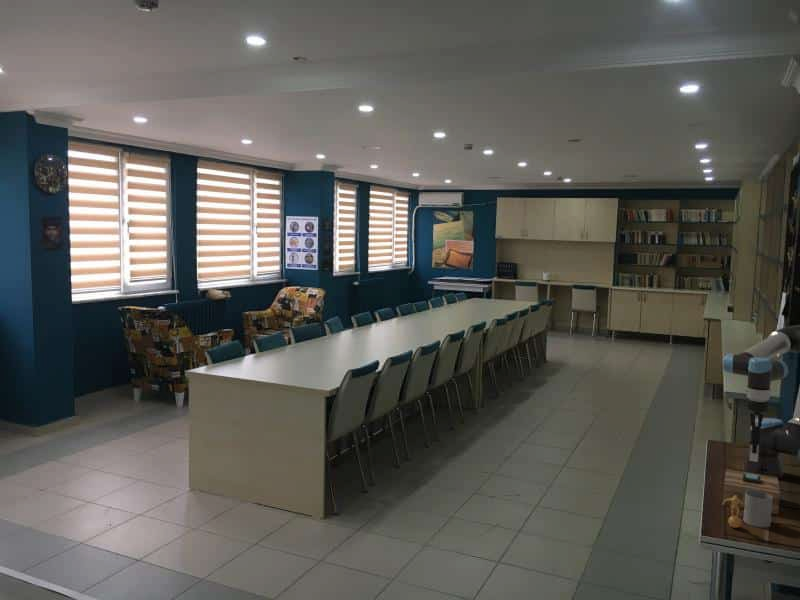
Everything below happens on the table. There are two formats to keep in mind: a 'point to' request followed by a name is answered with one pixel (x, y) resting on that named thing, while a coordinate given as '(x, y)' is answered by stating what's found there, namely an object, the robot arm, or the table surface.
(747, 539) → the table surface
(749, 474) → the peg
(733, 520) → the figurine
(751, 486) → the socket block
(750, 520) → the cup
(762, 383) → the robot arm
